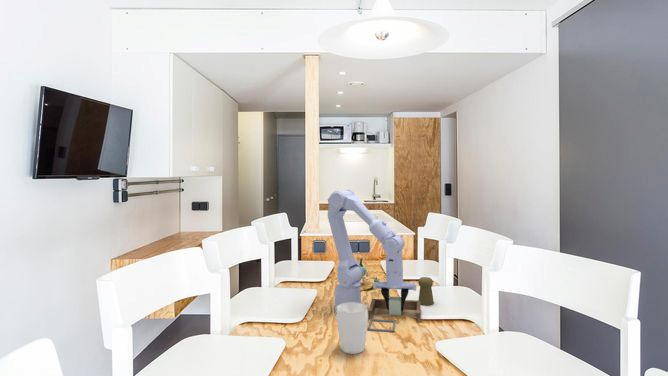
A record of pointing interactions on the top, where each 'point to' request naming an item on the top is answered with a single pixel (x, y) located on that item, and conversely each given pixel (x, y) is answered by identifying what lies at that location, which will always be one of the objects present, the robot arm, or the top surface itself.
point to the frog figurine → (366, 284)
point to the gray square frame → (381, 329)
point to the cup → (352, 326)
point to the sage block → (395, 306)
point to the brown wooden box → (409, 310)
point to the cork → (425, 291)
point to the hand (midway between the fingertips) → (395, 309)
